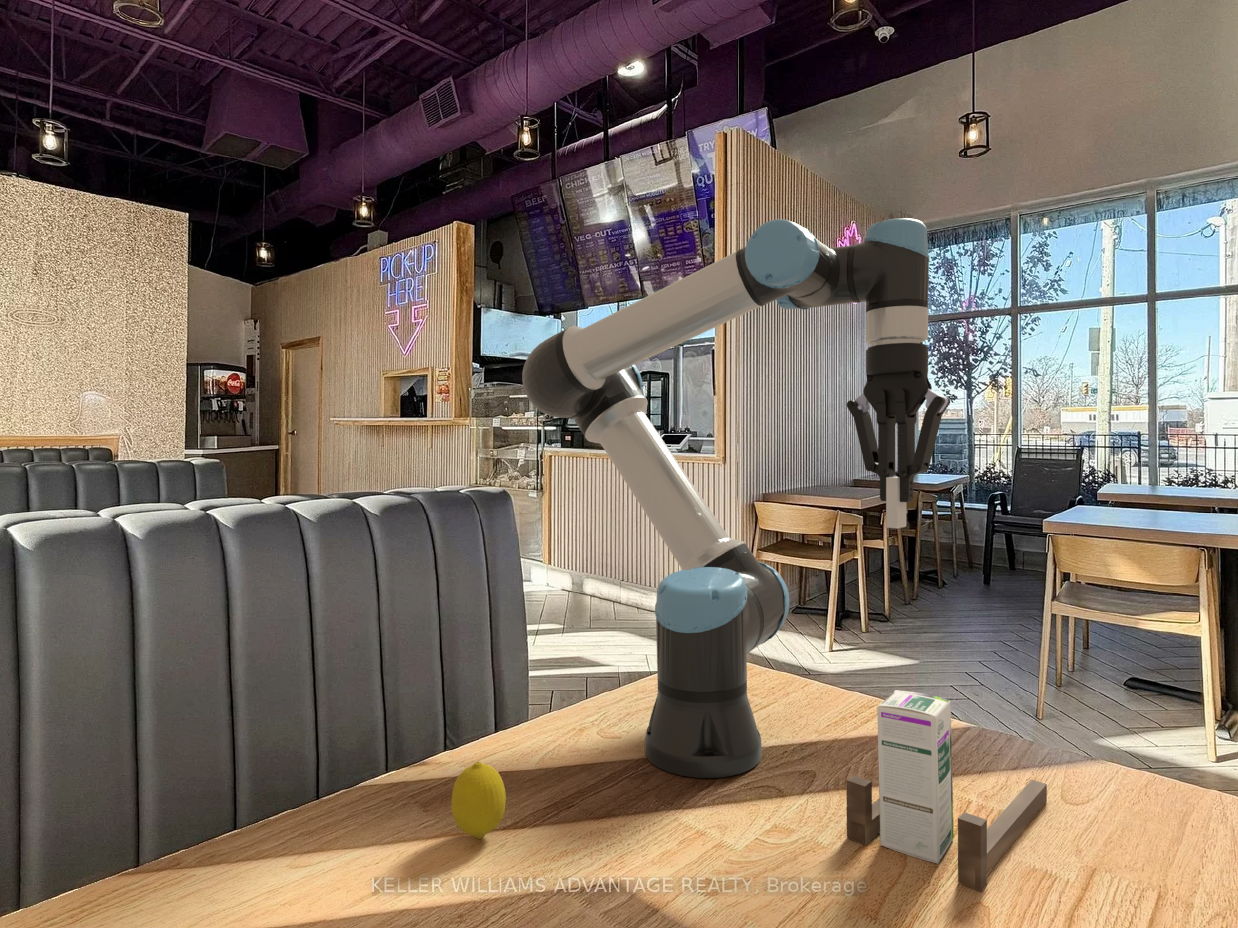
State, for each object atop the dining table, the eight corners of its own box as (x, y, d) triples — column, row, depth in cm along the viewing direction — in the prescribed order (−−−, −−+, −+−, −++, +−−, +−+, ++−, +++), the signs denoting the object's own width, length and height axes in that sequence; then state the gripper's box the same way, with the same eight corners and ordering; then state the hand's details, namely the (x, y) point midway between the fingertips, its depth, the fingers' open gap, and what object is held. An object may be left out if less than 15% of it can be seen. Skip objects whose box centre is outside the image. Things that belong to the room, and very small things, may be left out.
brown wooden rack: (846, 837, 75) (846, 779, 74) (933, 767, 90) (933, 719, 90) (981, 891, 65) (980, 825, 65) (1051, 802, 81) (1051, 749, 81)
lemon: (460, 858, 72) (458, 779, 72) (446, 832, 77) (444, 757, 77) (514, 843, 75) (512, 766, 74) (496, 819, 79) (495, 746, 79)
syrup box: (939, 865, 69) (939, 715, 69) (877, 845, 73) (876, 702, 73) (954, 839, 74) (953, 698, 74) (894, 821, 78) (894, 686, 77)
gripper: (960, 342, 92) (959, 528, 93) (862, 351, 101) (862, 521, 102) (936, 336, 87) (935, 534, 87) (835, 347, 96) (835, 525, 97)
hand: (896, 526), depth 95 cm, fingers closed
